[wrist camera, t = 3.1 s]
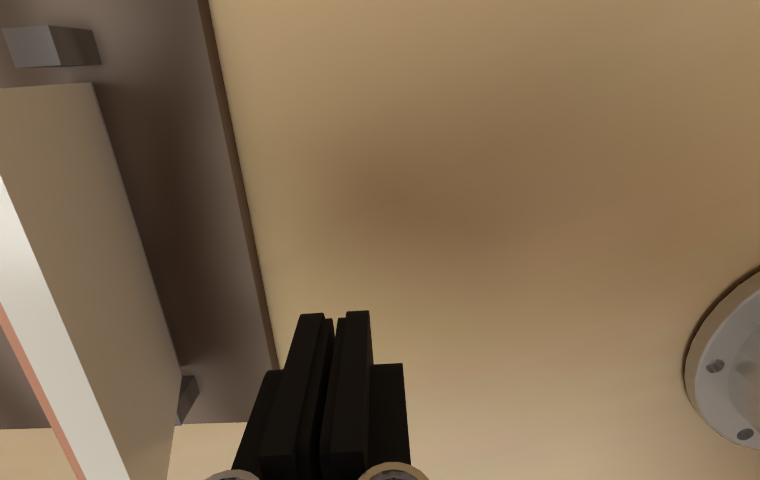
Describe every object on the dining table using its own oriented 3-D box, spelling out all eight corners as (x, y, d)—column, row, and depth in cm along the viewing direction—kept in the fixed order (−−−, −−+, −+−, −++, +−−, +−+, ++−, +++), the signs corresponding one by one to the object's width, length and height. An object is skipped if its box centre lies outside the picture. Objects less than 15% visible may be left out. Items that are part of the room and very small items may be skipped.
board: (199, -42, 16) (154, -66, 13) (286, 407, 24) (272, 455, 21) (-228, -9, 16) (-365, -24, 13) (5, 416, 25) (-47, 463, 22)
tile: (-36, 90, 8) (-114, 96, 8) (157, 542, 14) (116, 557, 13) (95, 82, 16) (60, 84, 16) (183, 367, 22) (158, 373, 21)
